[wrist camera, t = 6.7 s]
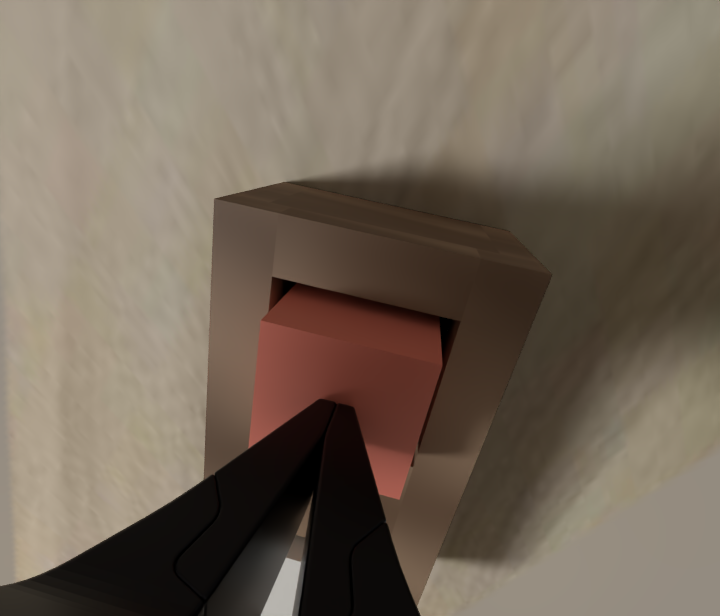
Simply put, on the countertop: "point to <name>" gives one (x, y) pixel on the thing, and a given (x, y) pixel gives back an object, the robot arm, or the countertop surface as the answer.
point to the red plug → (350, 371)
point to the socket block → (386, 285)
